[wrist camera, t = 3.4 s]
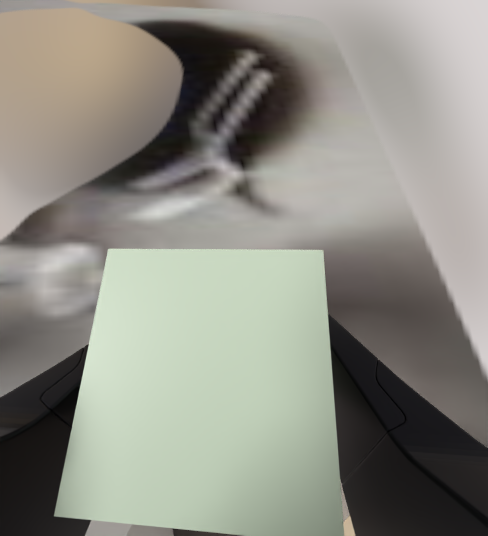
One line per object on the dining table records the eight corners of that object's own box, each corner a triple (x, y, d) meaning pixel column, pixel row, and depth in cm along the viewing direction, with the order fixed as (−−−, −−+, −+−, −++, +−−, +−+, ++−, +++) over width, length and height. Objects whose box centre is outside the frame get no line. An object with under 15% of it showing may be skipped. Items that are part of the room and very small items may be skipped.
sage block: (273, 360, 14) (345, 545, 3) (213, 357, 15) (53, 516, 3) (272, 299, 15) (323, 249, 4) (217, 298, 16) (108, 248, 4)
